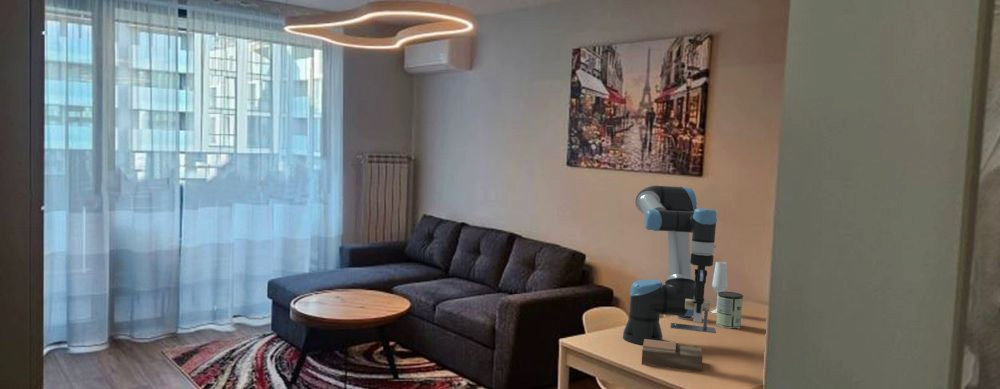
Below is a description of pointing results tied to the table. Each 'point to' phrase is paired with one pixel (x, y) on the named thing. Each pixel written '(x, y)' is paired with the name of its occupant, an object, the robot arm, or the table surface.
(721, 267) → the champagne flute
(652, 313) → the robot arm
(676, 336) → the table surface
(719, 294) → the coffee can
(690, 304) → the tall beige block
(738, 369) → the table surface
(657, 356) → the flip board
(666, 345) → the tile
